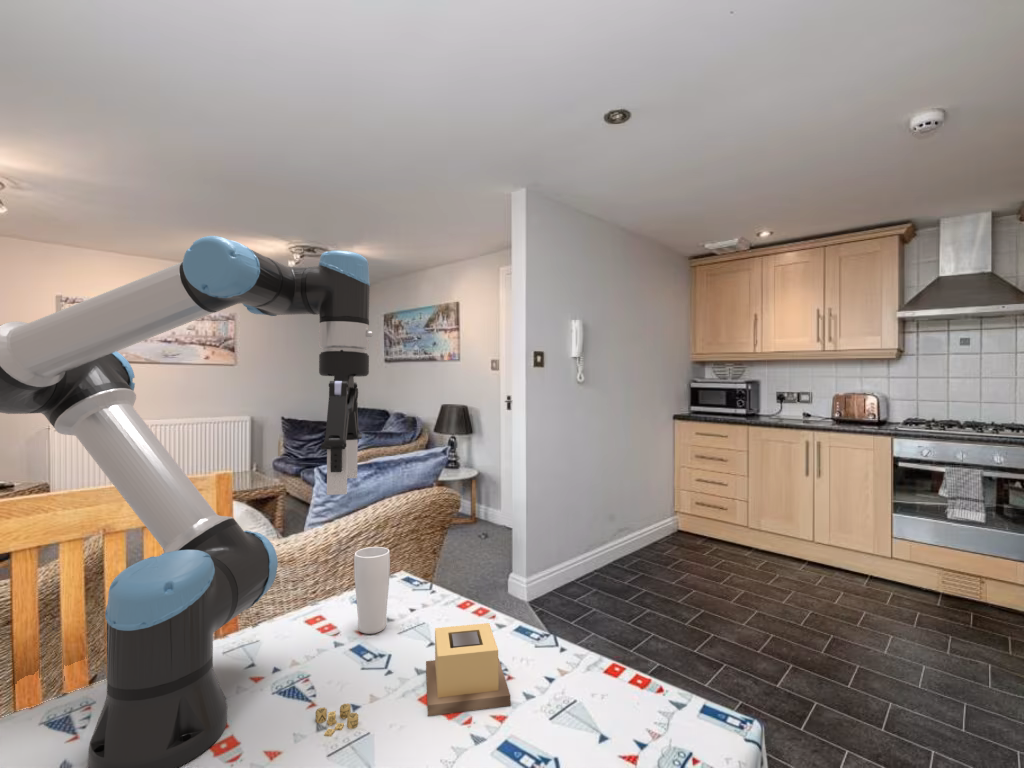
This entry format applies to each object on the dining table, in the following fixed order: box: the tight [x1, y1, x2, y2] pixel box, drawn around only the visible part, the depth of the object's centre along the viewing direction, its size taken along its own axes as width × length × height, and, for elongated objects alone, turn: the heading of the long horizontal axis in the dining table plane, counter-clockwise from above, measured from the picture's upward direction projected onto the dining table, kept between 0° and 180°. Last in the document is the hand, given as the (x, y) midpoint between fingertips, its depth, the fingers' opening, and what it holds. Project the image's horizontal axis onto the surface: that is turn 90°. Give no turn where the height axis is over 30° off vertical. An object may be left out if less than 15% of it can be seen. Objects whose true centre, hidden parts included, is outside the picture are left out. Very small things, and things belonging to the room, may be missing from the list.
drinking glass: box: [353, 546, 391, 635], centre depth 99 cm, size 7×7×15 cm
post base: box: [425, 632, 511, 717], centre depth 79 cm, size 12×12×8 cm
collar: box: [434, 622, 499, 698], centre depth 79 cm, size 9×9×6 cm
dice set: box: [315, 703, 359, 738], centre depth 71 cm, size 5×5×2 cm
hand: (343, 485), depth 80 cm, fingers open, 13 cm apart
